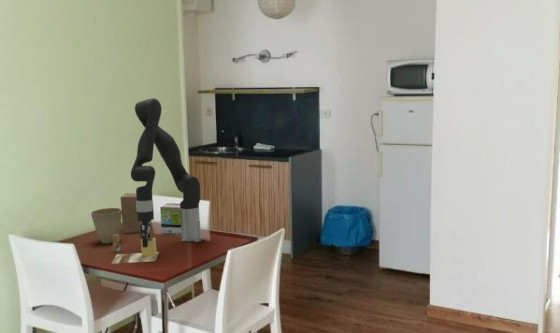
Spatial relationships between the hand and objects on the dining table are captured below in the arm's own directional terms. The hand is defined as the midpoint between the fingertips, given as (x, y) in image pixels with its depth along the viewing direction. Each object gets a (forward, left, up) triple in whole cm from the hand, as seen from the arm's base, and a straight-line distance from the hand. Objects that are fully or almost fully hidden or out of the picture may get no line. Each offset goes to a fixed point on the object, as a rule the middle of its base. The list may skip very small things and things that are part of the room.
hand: (146, 244), depth 254 cm
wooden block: (+13, -51, -6) cm, 53 cm away
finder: (-1, 0, -5) cm, 5 cm away
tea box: (-11, -43, -6) cm, 45 cm away
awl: (+15, -9, -6) cm, 19 cm away
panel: (+5, +4, -6) cm, 8 cm away
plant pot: (+23, -31, -6) cm, 39 cm away
